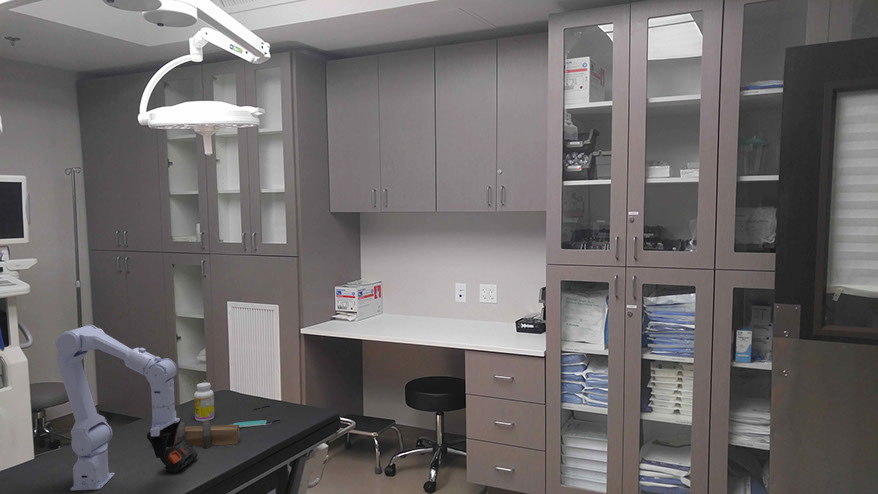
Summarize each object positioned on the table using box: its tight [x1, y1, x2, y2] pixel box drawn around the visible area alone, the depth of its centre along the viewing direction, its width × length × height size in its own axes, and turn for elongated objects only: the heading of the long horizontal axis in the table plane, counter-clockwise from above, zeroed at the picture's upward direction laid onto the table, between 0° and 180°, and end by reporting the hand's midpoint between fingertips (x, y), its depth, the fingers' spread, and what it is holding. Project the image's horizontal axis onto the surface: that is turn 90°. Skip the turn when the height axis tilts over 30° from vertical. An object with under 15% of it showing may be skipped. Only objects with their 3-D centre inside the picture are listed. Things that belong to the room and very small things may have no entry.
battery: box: [159, 438, 199, 473], centre depth 183 cm, size 12×8×7 cm
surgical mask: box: [231, 405, 281, 429], centre depth 216 cm, size 21×4×10 cm
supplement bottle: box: [193, 382, 215, 423], centre depth 222 cm, size 7×7×13 cm
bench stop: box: [175, 420, 241, 449], centre depth 198 cm, size 6×26×8 cm, turn 95°
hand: (165, 451), depth 170 cm, fingers open, 7 cm apart
